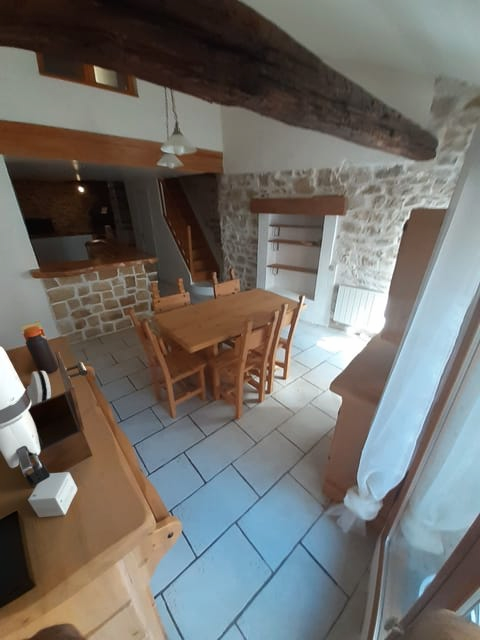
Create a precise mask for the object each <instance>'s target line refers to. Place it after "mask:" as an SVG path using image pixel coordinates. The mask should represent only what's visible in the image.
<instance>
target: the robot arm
mask: <svg viewBox="0 0 480 640" xmlns="http://www.w3.org/2000/svg"><path fill="white" fill-rule="evenodd" d="M30 406H31V400H30V398H29V396H28V394H27V389H26V388H25V386H24V384H23V382H22V381H21V378H20V377H19V375H18V373H17V371H16V369H15V368H14V365H13V363H12V362H11V360H10V358H9V356H8V354H7V352H6V351H5V349H4V347H2V346H1V345H0V453H1V454H2V456H3V458H4V460H5V461H6V464H7V466H9V468H10V469H15V468H16V467H18V466H19V467H20V466H21V467H20V469H21V471H22V475H23V476H24V479H26V481H27V483H28V484H29V486H30V487H33V486H35V485H36V484H38V483H40V482H42V481H43V480H45V479H47V478H49V477H50V474H49V472H48V470H47V468H46V467H45V465H44V463H41V462H40V459H39V457H38V455H39V454H40V451H41V450H40V447H42V446H43V442H42V440H41V438H40V437H39V435H38V433H37V430H36V426H35V424H34V421H33V419H32V417H31V415H30V413H29V411H28V410H29V408H30ZM30 452H31V453H33V454H32V455H30V456H29V454H28V453H30ZM33 457H34V459H35V461H36V464H35V465H33V464H32V463H31V461H30V459H32V458H33ZM19 464H20V465H19Z"/></svg>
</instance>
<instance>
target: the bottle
mask: <svg viewBox="0 0 480 640" xmlns="http://www.w3.org/2000/svg"><path fill="white" fill-rule="evenodd" d="M24 334H25V336H26V337H27V338H28V339H27V341H26V340H25V345H26V348H27V350H28V352H29V354H30V356H31V359H32V360H33V363H34V365H35V367H36V369H37V372H38V373H39V372H40V371H45V372H46V373H47V375H49V374H50V375H51V374H52V373H54V372H56V371H57V370H58V369H59V365H58V361H57V359H56V357H55V355H54V353H53V350H52V348H51V345H50V343H49V341H48V338H47V337H45V336H46V335H45V336H43V335H41V331H40V328H39V327H37V326H34V327H29V328H27V329H25V330H24Z"/></svg>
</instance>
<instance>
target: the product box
mask: <svg viewBox="0 0 480 640" xmlns="http://www.w3.org/2000/svg"><path fill="white" fill-rule="evenodd" d="M49 474H50V477H49V478H47V479H45V480H43V481H42V482H40V483H38V484H37V486H36V487H35V488H34V489H33V491H32V493H31V494H30V495H29V497H28V499H27V501H28V502H29V503H28V504H29V505H30V506H31V507H32V509H33V510H34V513H36V515H37V516H38V518H47V517H61V516H66V515H67V513H68V510H69V508H70V505H71V503H72V502H73V499H74V498H75V496H76V494H77V492H78V487H77V485H76V483H75V481H74V479H73V477H72V475H71V473H70V471H63V472H62V473H49Z"/></svg>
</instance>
